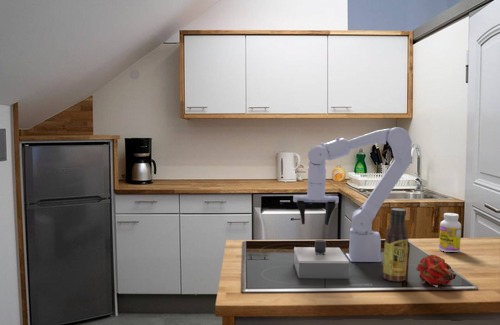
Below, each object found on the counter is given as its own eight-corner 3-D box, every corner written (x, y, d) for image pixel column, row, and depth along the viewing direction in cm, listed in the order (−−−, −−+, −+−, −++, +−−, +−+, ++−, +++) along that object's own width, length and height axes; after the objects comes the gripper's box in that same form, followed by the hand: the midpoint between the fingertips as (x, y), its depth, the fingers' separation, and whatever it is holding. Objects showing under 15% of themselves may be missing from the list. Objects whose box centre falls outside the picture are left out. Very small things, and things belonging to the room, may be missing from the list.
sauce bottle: (394, 284, 127) (396, 212, 126) (377, 277, 133) (380, 208, 131) (411, 280, 130) (414, 210, 129) (395, 274, 136) (397, 206, 134)
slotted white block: (338, 263, 146) (339, 247, 145) (348, 278, 132) (348, 261, 131) (293, 262, 145) (294, 247, 145) (298, 278, 132) (299, 260, 131)
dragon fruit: (422, 281, 135) (448, 302, 123) (403, 266, 132) (428, 287, 121) (441, 258, 134) (469, 277, 123) (422, 243, 132) (449, 261, 120)
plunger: (334, 262, 144) (335, 236, 143) (342, 273, 133) (342, 246, 132) (299, 261, 144) (299, 236, 143) (303, 273, 133) (304, 246, 132)
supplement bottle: (434, 250, 162) (436, 213, 160) (445, 247, 165) (447, 211, 164) (453, 254, 156) (455, 217, 155) (463, 251, 160) (465, 214, 159)
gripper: (336, 181, 156) (334, 221, 157) (292, 180, 156) (291, 220, 157) (340, 184, 149) (338, 226, 150) (295, 183, 149) (293, 225, 150)
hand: (314, 224), depth 153 cm, fingers open, 7 cm apart
